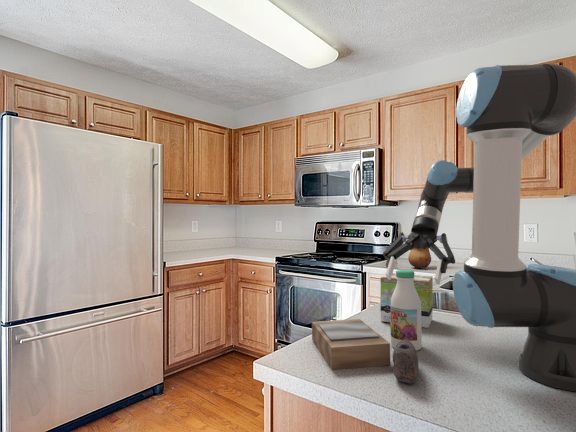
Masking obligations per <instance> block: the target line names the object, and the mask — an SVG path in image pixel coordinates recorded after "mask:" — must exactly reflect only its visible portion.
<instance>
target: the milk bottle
mask: <svg viewBox="0 0 576 432" xmlns="http://www.w3.org/2000/svg"><path fill="white" fill-rule="evenodd" d="M395 274H396V279H397V284H396V288H395V290H394V292H393V294H392V298H391V309H390V313H391V322H390V346H392V348H393V349H394V348H395V346H396V345H397V344H398V343H399V342H400V341H401V340H408V341H410V342H411V343H412V344H413V346H414V347H415V350H416V352H417V351H419V350H421V349H422V345H423V344H422V343H423V341H422V338H423V336H422V333H423V332H422V329H423V327H421V303H420V298H419V296H418V293H417V291H416V289H415V286H414V275H415V271H414V270H411V269H398V270H395Z"/></svg>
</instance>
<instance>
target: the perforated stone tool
mask: <svg viewBox="0 0 576 432" xmlns="http://www.w3.org/2000/svg"><path fill="white" fill-rule="evenodd" d="M418 358H419V357H418V352H417V351H416V350H415V347H414V346H413V344H412V343H411V342H410V341H408V340H401V341H400V342H399V343H398V344H397V345H396V346H395V348H394V347H393V351H392V362H393V366H392V369H391V370H392V372H393V375H394V377H395V378H396V380H397V381H399V382H401V383H406V384H409V385H411V384H412V385H413V384H414V383H416V381H417V378H418V374H419V359H418Z"/></svg>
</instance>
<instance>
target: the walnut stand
mask: <svg viewBox="0 0 576 432" xmlns="http://www.w3.org/2000/svg"><path fill="white" fill-rule="evenodd" d="M311 340H312V342H313V343H314V345H315V346H316V348H317V349H318V351H319V353H320V354H321V356H322V357H323V359H324V360H325V362H326V363H327V366H328V367H329V368H330V370H331V371H333V370H346V369H358V368H369V367H371V368H372V367H380V366H391V342H389V341H388V340H387V339H385V338H384V337H383V336H381V335H380V334H379V333H378V332H376V331H375V330H374V329H373V328H371V326H369V325H368V324H367V323H366V322H364V321H363V320H362V319H361V318H352V319H338V320H337V319H336V320H321V321H320V320H319V321H312V322H311Z"/></svg>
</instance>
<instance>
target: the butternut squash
mask: <svg viewBox="0 0 576 432" xmlns="http://www.w3.org/2000/svg"><path fill="white" fill-rule="evenodd" d="M410 244H411V243H410ZM411 245H412V244H411ZM408 262H409V264H410V265H411V266H412V267H414V268H415V269H419V268H422V269H424V268H428V267H429V266H430V264H431V262H432V256H431V252H430V248H429V247H428V248H426V249H422V248H419V249H416V248H414V249H412V250H409V253H408Z"/></svg>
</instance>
